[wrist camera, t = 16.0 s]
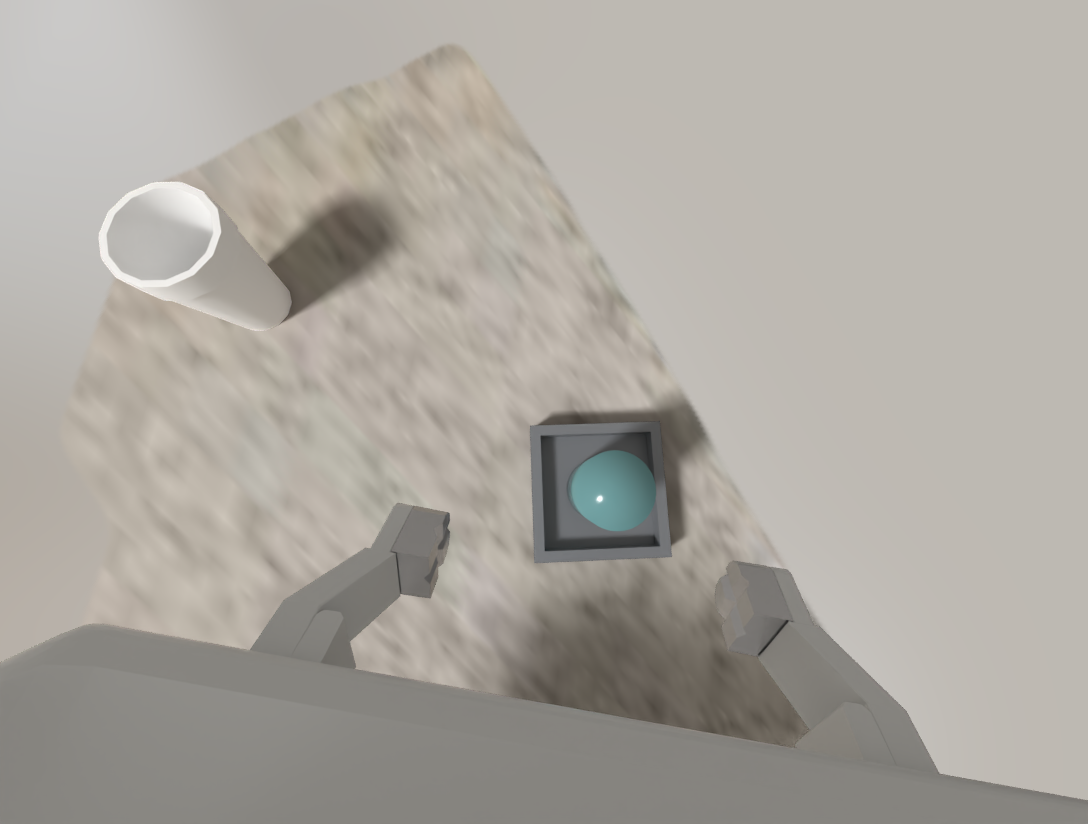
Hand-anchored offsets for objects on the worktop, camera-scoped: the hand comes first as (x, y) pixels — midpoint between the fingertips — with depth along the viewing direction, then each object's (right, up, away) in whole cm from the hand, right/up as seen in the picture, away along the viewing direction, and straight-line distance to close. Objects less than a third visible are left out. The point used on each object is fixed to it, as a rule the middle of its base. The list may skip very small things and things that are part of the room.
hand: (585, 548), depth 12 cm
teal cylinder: (+4, -4, +30) cm, 31 cm away
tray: (+4, -4, +32) cm, 32 cm away
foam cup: (-32, +16, +34) cm, 50 cm away
